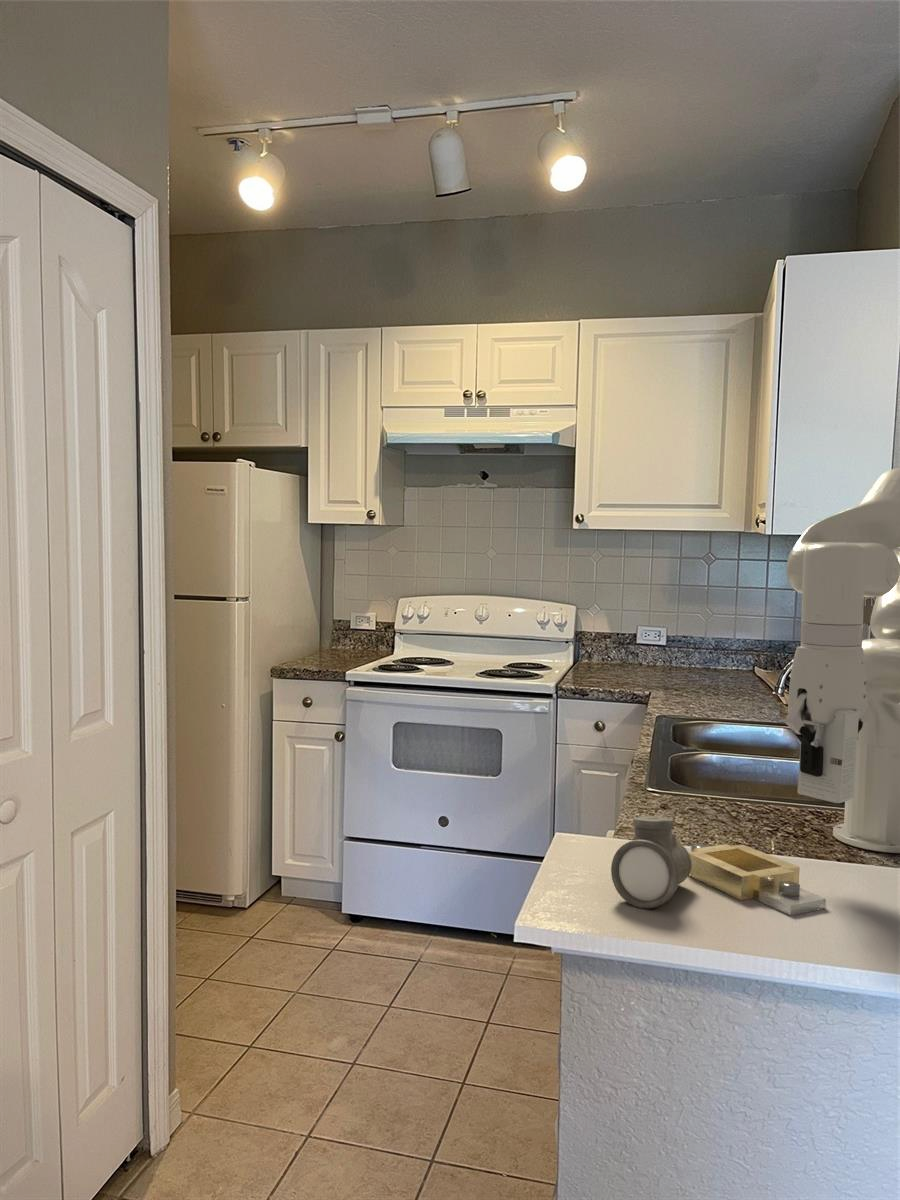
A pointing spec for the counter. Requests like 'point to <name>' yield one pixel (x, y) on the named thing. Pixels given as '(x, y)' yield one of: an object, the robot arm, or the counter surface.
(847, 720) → the skincare box
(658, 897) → the pipe fitting
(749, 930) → the counter surface
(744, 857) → the open yellow tray
